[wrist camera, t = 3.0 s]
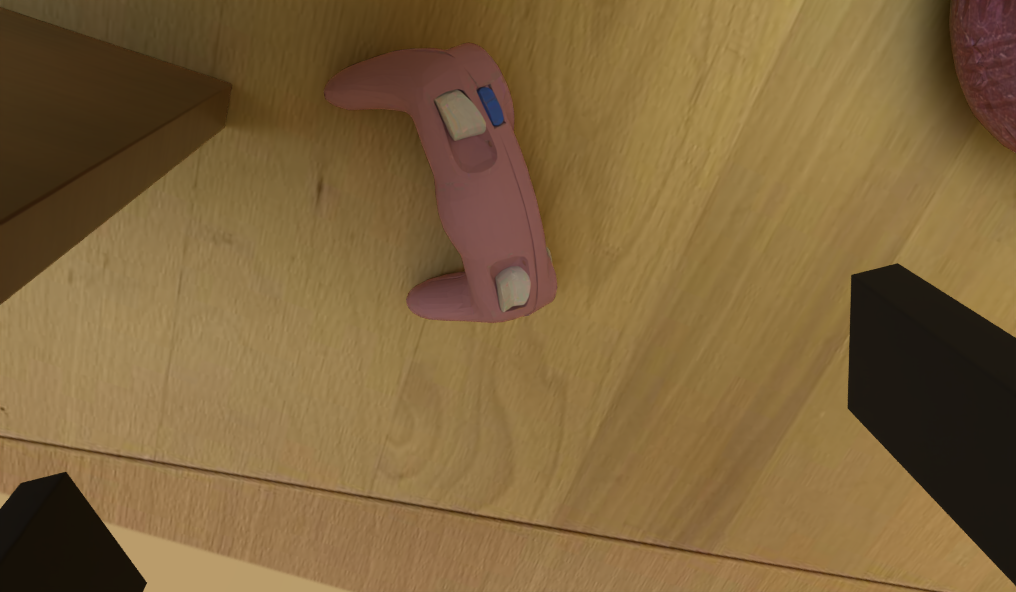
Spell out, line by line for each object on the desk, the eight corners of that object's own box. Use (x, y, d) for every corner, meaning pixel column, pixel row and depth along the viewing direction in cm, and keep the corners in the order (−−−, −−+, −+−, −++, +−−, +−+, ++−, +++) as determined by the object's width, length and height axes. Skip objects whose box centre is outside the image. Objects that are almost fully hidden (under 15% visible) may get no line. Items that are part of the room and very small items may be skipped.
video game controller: (495, 267, 28) (599, 314, 23) (404, 316, 26) (492, 381, 21) (422, 32, 24) (529, 18, 18) (306, 72, 22) (385, 71, 16)
